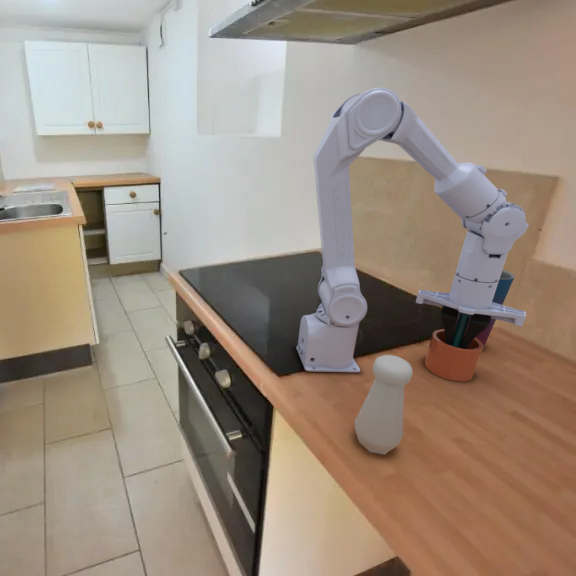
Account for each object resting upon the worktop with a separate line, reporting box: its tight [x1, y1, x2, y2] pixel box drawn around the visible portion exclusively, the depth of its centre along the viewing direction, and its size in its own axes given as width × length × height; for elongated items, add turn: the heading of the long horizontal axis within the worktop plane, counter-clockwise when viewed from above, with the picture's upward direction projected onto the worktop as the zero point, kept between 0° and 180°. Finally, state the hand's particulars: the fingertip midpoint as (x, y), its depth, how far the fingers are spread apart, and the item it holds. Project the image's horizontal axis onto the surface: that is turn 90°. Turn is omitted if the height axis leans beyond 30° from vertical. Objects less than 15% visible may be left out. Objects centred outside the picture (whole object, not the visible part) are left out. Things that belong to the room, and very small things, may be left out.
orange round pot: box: [424, 328, 484, 382], centre depth 66 cm, size 7×7×6 cm
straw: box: [451, 313, 470, 348], centre depth 65 cm, size 1×1×10 cm
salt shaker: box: [353, 354, 413, 456], centre depth 49 cm, size 6×6×13 cm
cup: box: [455, 269, 515, 349], centre depth 72 cm, size 7×7×15 cm
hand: (454, 349), depth 65 cm, fingers closed on straw, 1 cm apart
